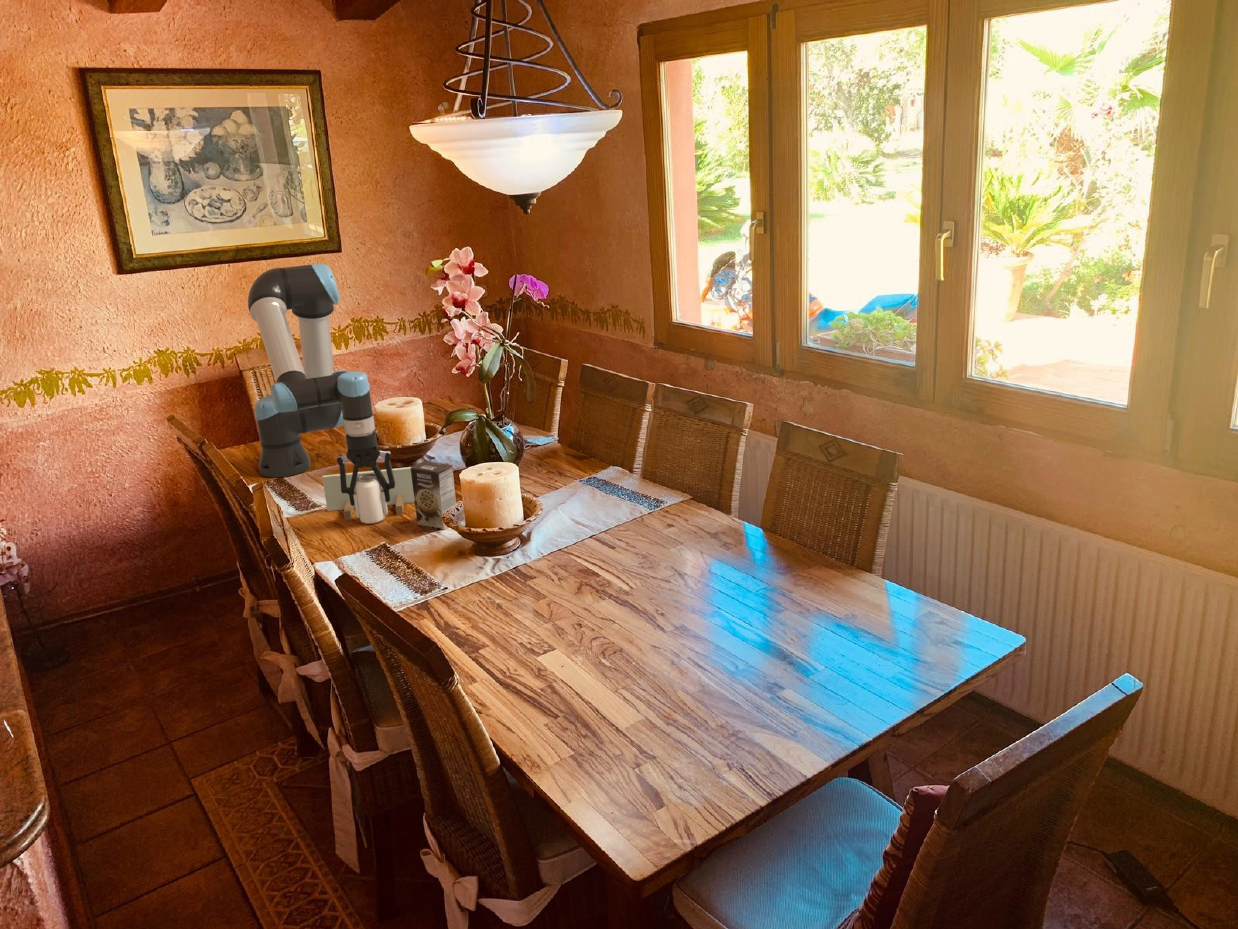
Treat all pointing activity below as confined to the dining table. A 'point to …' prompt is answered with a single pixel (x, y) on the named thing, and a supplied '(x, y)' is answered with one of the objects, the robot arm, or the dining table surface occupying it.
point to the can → (369, 499)
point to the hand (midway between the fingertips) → (372, 514)
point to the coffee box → (433, 492)
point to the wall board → (397, 494)
